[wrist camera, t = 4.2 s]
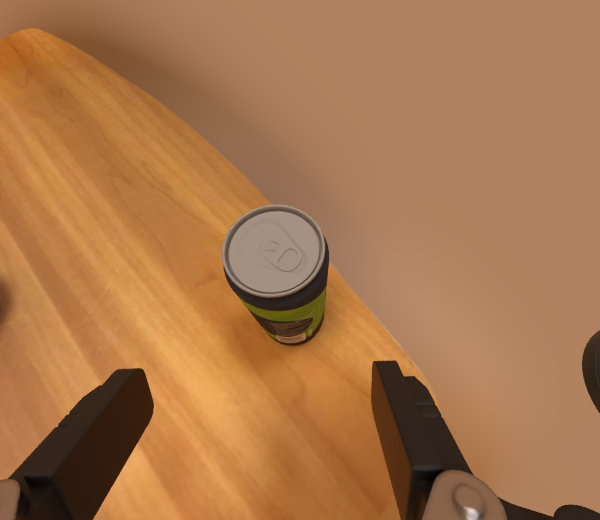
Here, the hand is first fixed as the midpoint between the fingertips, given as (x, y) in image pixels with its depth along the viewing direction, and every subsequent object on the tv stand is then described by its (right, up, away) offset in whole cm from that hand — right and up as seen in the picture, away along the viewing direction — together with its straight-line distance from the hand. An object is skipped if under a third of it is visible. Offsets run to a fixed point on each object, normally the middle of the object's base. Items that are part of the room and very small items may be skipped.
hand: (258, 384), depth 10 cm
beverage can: (+1, -1, +19) cm, 19 cm away
